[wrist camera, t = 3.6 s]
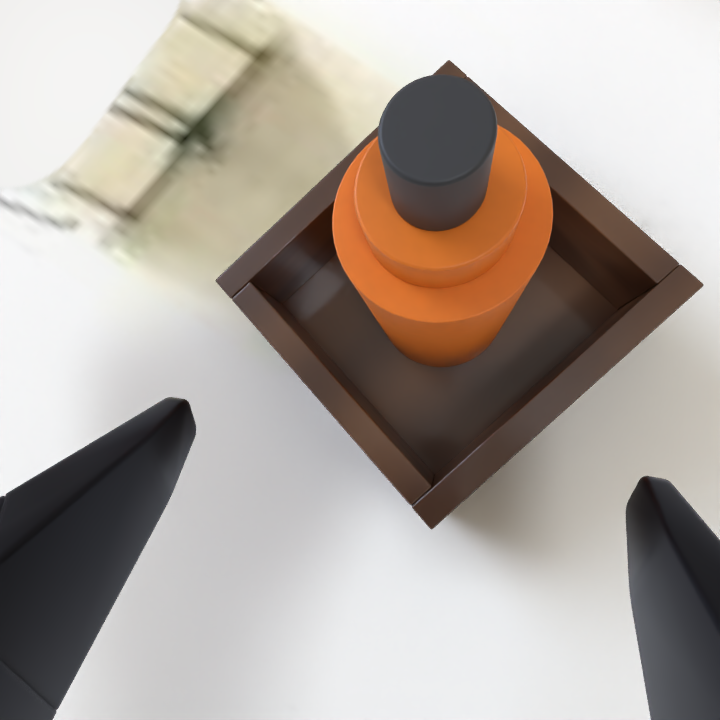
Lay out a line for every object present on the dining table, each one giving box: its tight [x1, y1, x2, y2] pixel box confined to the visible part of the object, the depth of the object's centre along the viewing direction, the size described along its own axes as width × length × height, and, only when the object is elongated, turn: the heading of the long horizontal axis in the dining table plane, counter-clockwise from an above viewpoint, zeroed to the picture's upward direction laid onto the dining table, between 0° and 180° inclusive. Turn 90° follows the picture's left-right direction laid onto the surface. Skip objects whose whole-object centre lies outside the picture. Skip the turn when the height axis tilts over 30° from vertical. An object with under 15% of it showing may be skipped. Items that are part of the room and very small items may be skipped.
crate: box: [216, 60, 703, 529], centre depth 20 cm, size 12×12×5 cm
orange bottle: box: [332, 75, 553, 367], centre depth 15 cm, size 5×5×14 cm
